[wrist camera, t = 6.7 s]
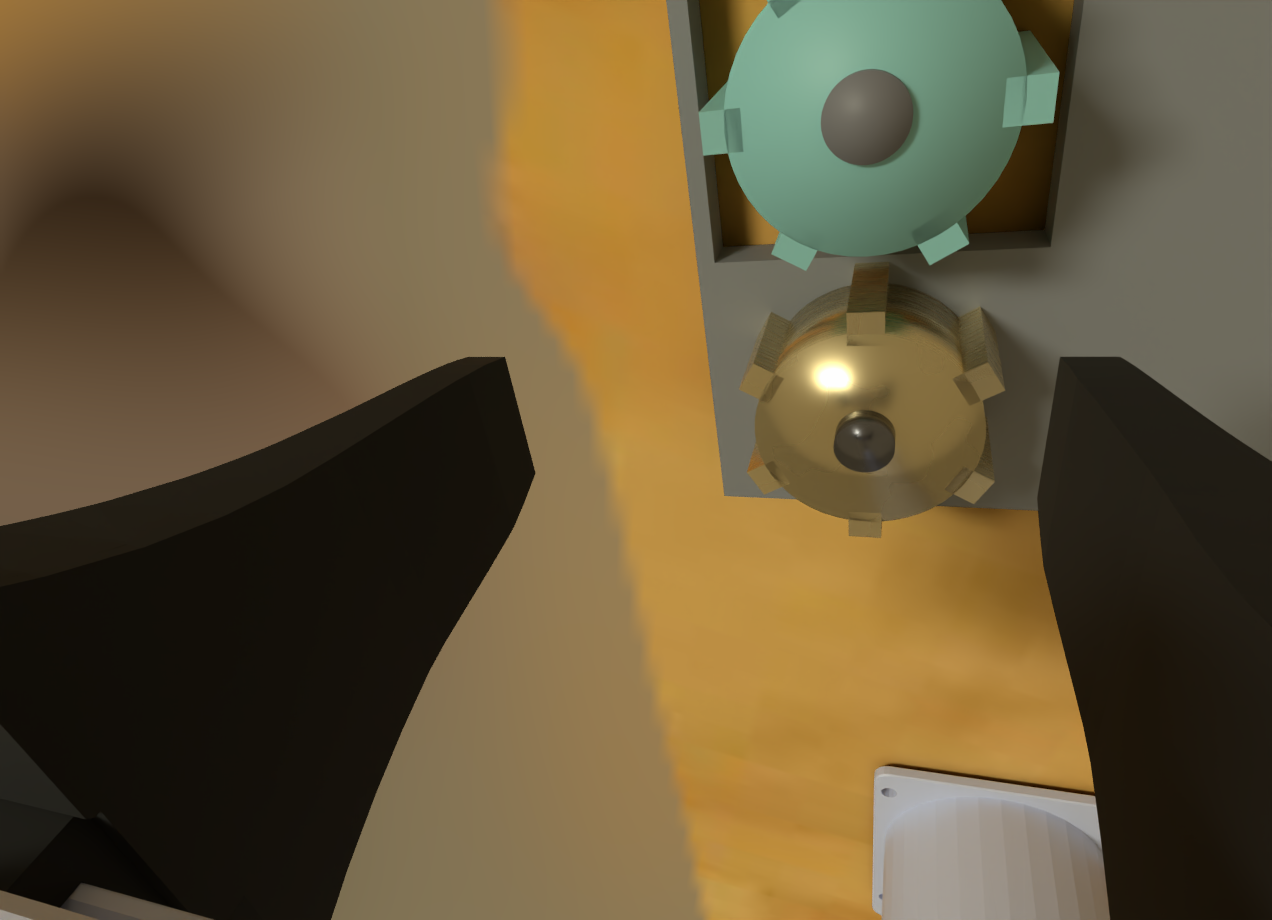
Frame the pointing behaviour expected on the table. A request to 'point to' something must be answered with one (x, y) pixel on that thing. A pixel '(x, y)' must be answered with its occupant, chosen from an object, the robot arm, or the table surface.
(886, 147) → the teal gear
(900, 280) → the gear board
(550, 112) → the table surface
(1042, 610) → the table surface
